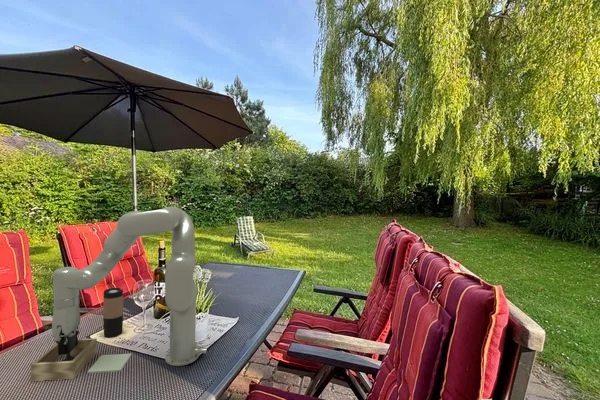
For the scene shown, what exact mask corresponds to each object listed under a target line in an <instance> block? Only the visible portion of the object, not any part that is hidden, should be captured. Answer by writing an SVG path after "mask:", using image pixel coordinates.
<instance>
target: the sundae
mask: <svg viewBox="0 0 600 400" xmlns="http://www.w3.org/2000/svg"><path fill="white" fill-rule="evenodd" d="M79 334H80V331H79V330H78V331H76V330H74V331H72V332H71V333H70V334H69V335H68V341H67V343H69V353H68V354H67V356H65V358H64V359H63V360H61V361H60V362H62V361H72V360H73V359H74V358H75V357H76V356H70V352H71V351H72V350H73V349H74V348H75V344H76V337H77V338H78V335H79ZM61 335H64V333H62V334H61ZM61 339H65V337H61Z"/></svg>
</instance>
